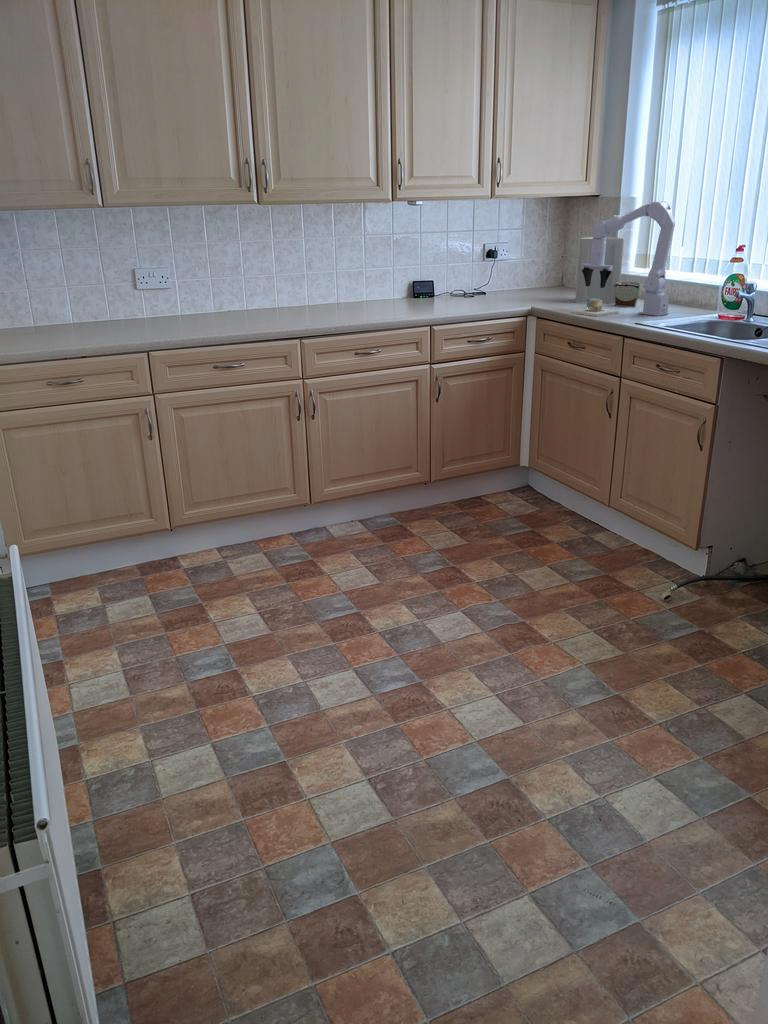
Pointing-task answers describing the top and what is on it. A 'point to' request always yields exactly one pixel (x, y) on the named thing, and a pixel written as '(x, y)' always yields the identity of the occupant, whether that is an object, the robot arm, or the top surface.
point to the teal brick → (589, 300)
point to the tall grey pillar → (611, 258)
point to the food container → (626, 293)
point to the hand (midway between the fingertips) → (595, 286)
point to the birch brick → (595, 305)
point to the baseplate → (594, 312)
